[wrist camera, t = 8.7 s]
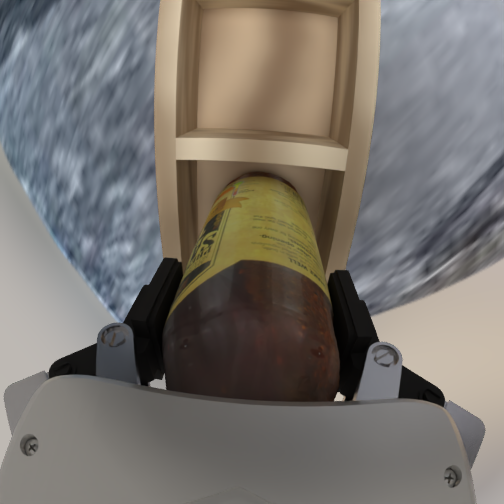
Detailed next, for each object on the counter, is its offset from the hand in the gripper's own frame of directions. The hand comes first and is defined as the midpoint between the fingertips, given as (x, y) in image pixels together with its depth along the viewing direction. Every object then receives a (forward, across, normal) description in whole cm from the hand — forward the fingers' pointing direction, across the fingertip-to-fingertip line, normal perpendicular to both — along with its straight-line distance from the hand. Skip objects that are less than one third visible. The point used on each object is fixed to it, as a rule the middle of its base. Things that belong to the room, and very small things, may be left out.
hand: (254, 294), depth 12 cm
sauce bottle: (+9, 0, 0) cm, 9 cm away
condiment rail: (+11, 0, -5) cm, 12 cm away
